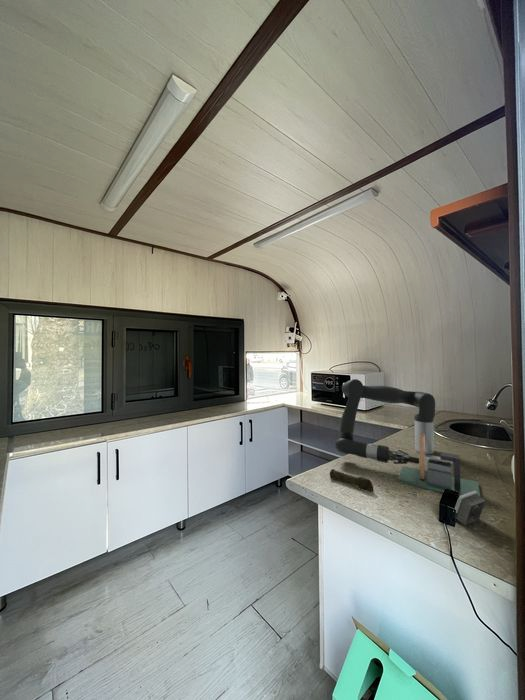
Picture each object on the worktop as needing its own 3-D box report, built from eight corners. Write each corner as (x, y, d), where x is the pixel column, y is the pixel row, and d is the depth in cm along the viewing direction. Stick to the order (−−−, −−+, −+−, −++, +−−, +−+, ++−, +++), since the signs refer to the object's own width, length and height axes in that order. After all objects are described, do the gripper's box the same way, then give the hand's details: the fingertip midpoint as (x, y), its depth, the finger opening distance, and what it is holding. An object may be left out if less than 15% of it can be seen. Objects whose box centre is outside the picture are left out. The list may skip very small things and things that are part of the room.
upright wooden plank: (421, 473, 120) (420, 433, 120) (453, 480, 113) (452, 437, 113) (420, 478, 115) (419, 436, 115) (452, 485, 108) (451, 441, 108)
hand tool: (329, 479, 119) (328, 468, 119) (333, 476, 122) (333, 466, 122) (370, 495, 105) (369, 483, 106) (374, 491, 108) (374, 480, 108)
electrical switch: (468, 512, 93) (470, 487, 92) (485, 522, 88) (487, 496, 87) (450, 519, 89) (452, 493, 88) (467, 530, 84) (470, 502, 84)
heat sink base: (403, 468, 129) (403, 441, 129) (477, 484, 112) (477, 454, 112) (397, 481, 116) (397, 451, 116) (480, 502, 99) (479, 467, 99)
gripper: (374, 449, 123) (417, 457, 112) (380, 441, 133) (420, 448, 123) (374, 465, 123) (417, 475, 112) (380, 456, 133) (420, 464, 123)
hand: (419, 461), depth 118 cm, fingers closed
